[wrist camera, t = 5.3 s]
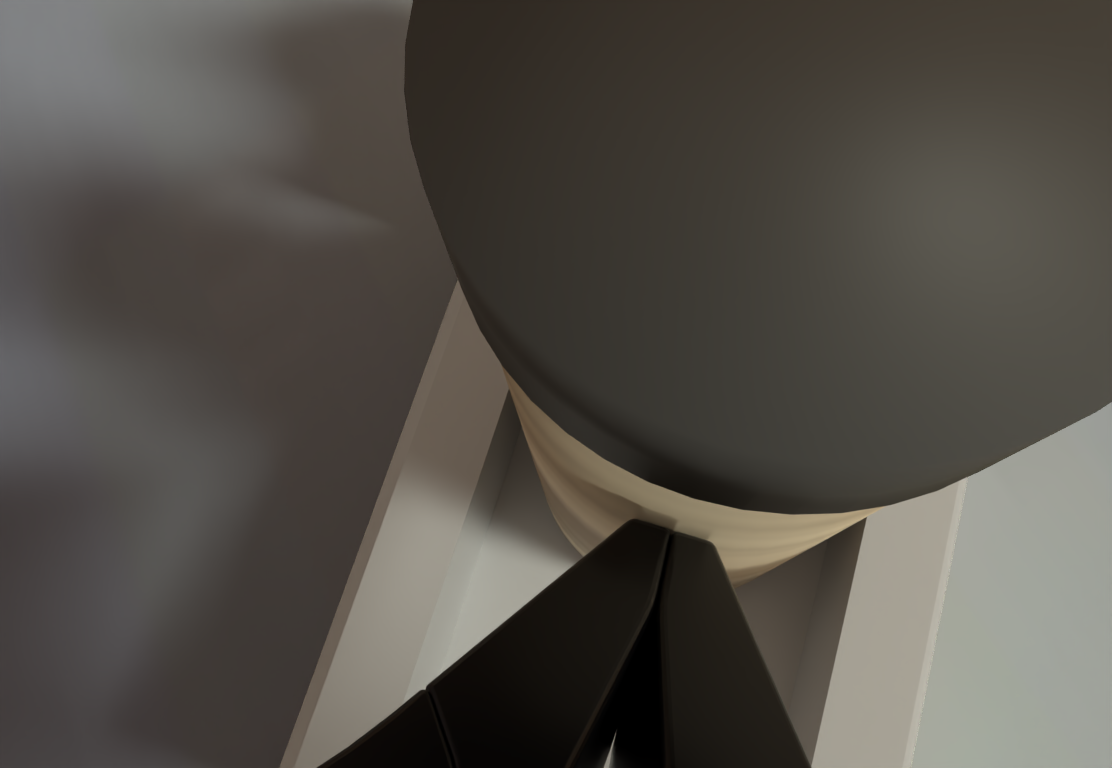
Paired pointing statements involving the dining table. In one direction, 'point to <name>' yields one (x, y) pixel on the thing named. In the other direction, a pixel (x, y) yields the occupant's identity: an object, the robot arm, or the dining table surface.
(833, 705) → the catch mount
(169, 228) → the dining table surface
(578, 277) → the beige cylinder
